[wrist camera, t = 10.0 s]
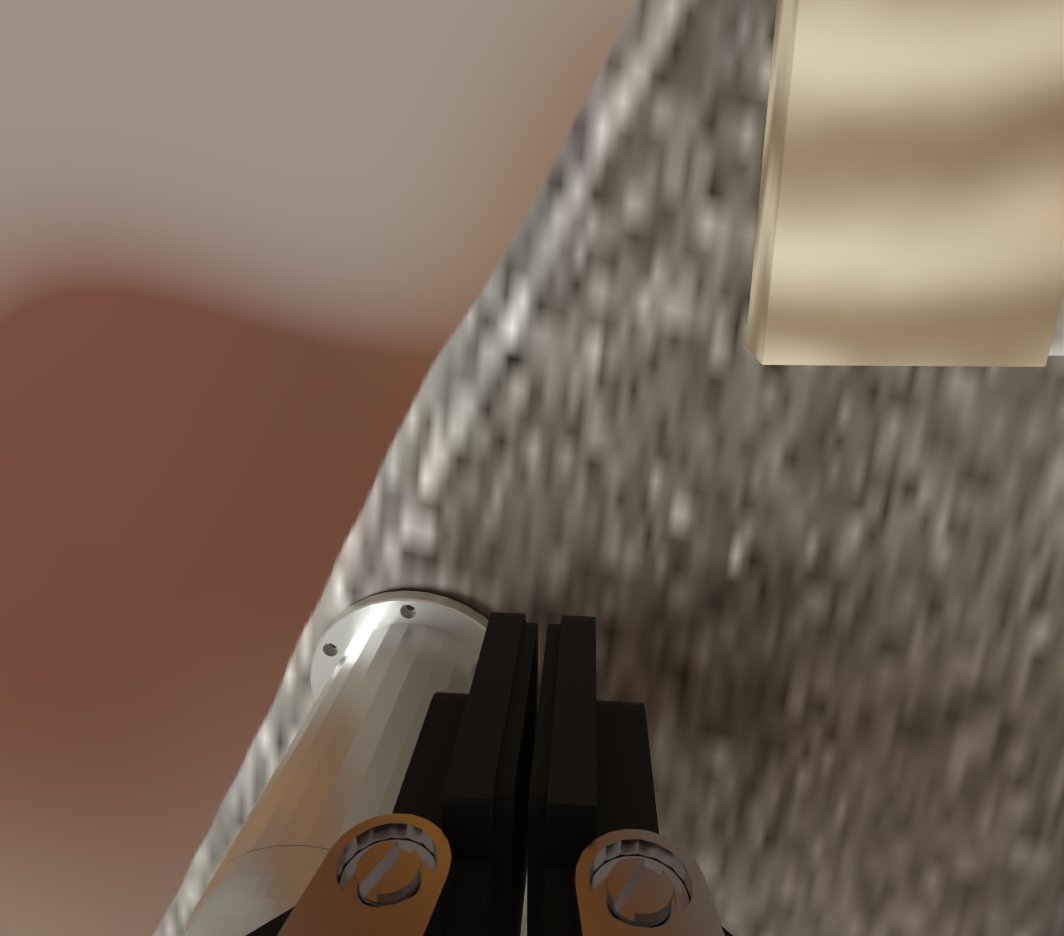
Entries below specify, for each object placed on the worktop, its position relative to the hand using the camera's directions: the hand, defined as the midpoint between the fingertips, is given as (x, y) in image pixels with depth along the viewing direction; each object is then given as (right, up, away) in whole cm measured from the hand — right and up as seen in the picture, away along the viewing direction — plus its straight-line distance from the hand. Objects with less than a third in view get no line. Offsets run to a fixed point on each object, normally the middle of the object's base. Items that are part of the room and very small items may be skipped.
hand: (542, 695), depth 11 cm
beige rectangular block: (+15, +17, +19) cm, 29 cm away
